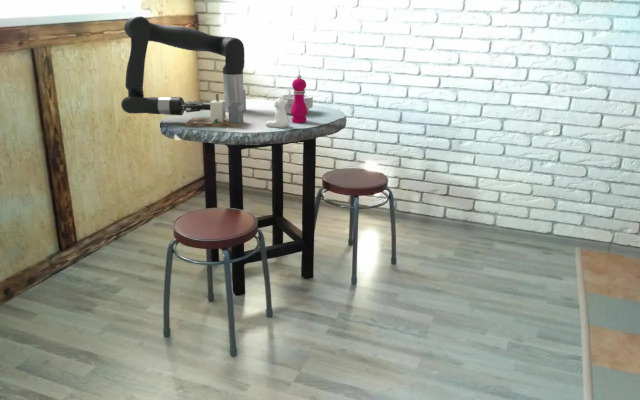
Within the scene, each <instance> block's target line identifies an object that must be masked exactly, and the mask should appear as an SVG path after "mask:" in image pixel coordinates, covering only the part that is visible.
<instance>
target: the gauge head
mask: <svg viewBox="0 0 640 400" xmlns="http://www.w3.org/2000/svg"><path fill="white" fill-rule="evenodd" d="M209 104H210V110H209V111H210V118H211V122H223V121H224V120H225V119H227V117H226V115H227V114H226V111H225V100H224V99H222V100H221V99H219V93H216V94H215V99H213V100H211V101H210V102H209Z"/></svg>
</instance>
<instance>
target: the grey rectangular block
mask: <svg viewBox="0 0 640 400" xmlns="http://www.w3.org/2000/svg"><path fill="white" fill-rule="evenodd" d="M228 119H229V124H239V123H240V122H241V121H242V120H244V111H243V103H232V104H231V105H230V106H229V107H228Z"/></svg>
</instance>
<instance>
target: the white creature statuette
mask: <svg viewBox="0 0 640 400" xmlns="http://www.w3.org/2000/svg"><path fill="white" fill-rule="evenodd" d="M286 103H288V100H285V101H284V99H283V98H280V97H279V98H277V99H276V100H275V102H274V105H273V106H274V108H275V112H274V119H273V120H268V121H266V122H265V126H266V127H267V128H276V129H284V128H285V129H286V128H287V127H289V123H290V120H289V118H288V115H287V114H288V113H286V111H285V110H284V107H285V104H286Z"/></svg>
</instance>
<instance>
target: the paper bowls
mask: <svg viewBox="0 0 640 400" xmlns="http://www.w3.org/2000/svg"><path fill="white" fill-rule="evenodd" d="M279 98H283V99H284V101H285V100H288V103H286V104H285V107H284V110H285V111H286V113H287V114H288V115H292V114H291V108H292V105H293V103H294V99H295V96H294V94H293V93H292V94H291V93H290V94H282V95H280V96H279ZM313 100H314V99H313V96H312V95H309V94H304V102H305V105H306V107H307V112H309V110H310V109H312V108H313V105H314V104H313Z"/></svg>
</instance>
